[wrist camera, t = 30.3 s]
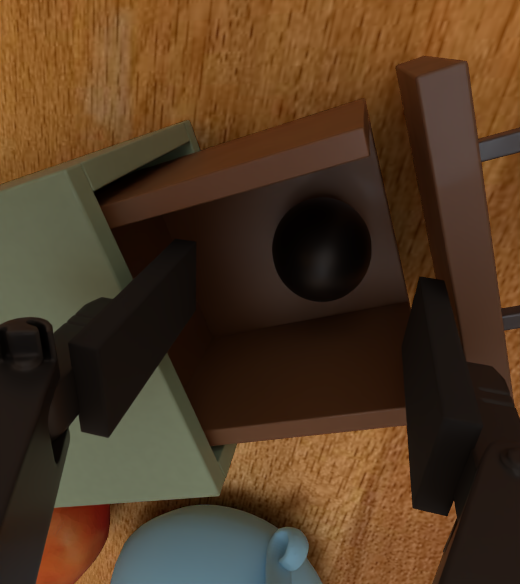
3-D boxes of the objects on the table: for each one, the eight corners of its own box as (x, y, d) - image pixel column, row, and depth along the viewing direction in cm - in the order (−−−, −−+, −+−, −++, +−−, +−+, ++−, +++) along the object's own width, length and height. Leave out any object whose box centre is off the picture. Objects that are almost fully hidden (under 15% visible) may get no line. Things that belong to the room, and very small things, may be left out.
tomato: (135, 466, 35) (77, 572, 28) (116, 538, 39) (62, 645, 32) (17, 419, 35) (-70, 513, 28) (11, 497, 39) (-65, 594, 32)
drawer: (569, 7, 17) (734, -27, 10) (585, 287, 22) (708, 421, 14) (133, 153, 23) (13, 206, 15) (215, 352, 27) (155, 472, 20)
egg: (309, 170, 20) (307, 200, 16) (386, 221, 21) (404, 264, 17) (258, 244, 22) (244, 290, 18) (331, 290, 23) (334, 346, 18)
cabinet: (189, 118, 23) (64, 169, 13) (270, 343, 28) (220, 497, 18) (-41, 198, 27) (-256, 278, 18) (63, 379, 32) (-63, 517, 23)
